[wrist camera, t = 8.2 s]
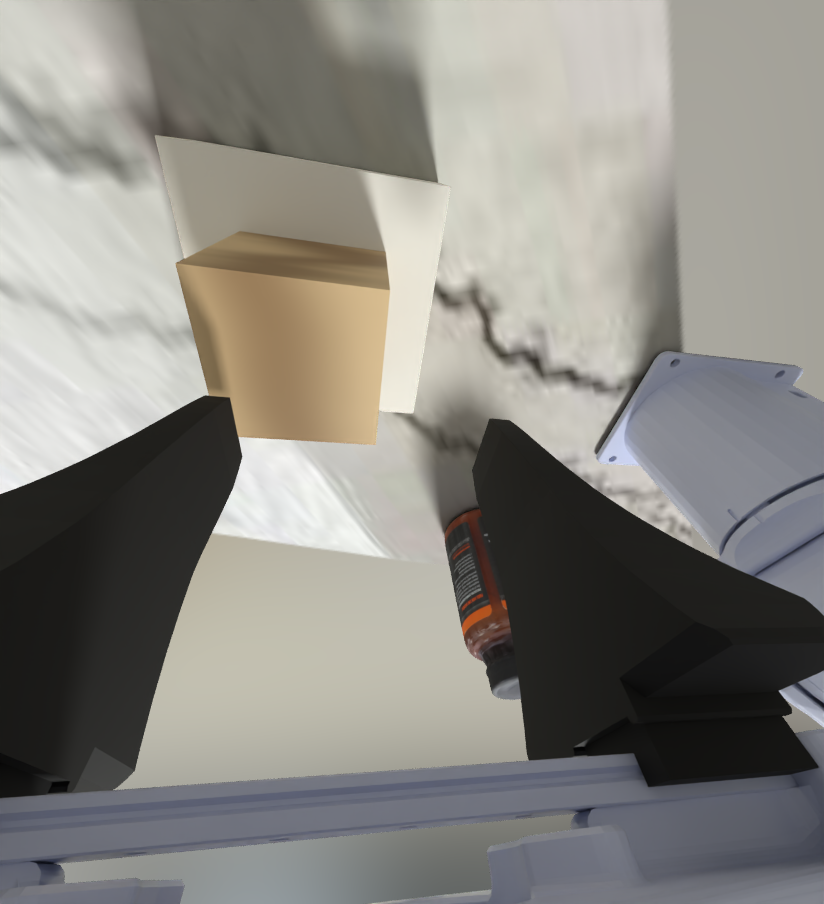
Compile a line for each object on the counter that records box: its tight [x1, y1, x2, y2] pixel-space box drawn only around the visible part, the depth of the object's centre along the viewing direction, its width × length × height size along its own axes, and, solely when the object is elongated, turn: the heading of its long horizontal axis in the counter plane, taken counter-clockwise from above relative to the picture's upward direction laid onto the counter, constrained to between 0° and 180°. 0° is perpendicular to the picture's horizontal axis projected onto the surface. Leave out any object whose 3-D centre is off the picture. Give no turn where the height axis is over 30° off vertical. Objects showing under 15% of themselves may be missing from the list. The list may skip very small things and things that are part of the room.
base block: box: [155, 135, 451, 413], centre depth 15 cm, size 9×9×3 cm
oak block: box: [175, 231, 390, 445], centre depth 12 cm, size 5×5×5 cm
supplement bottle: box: [445, 509, 521, 700], centre depth 24 cm, size 6×6×11 cm
